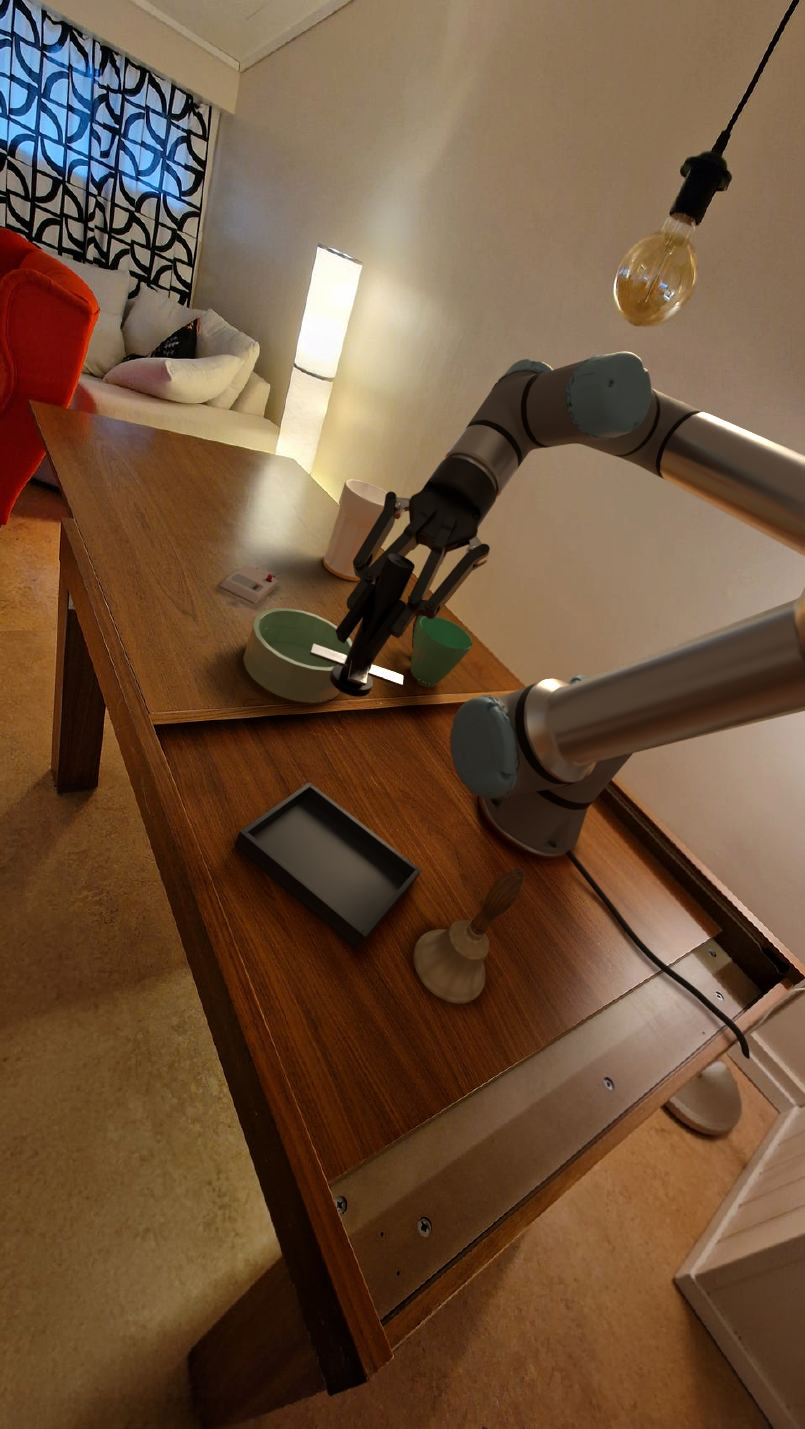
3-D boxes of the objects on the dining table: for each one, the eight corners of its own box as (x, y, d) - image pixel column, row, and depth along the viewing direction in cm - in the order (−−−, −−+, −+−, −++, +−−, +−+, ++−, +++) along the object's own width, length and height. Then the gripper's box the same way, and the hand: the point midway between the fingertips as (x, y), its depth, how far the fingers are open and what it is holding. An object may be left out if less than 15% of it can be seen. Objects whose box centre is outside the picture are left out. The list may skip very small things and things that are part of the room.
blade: (395, 676, 77) (448, 562, 69) (392, 723, 69) (452, 601, 61) (311, 646, 75) (355, 524, 67) (297, 691, 67) (345, 559, 58)
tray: (413, 883, 73) (421, 870, 72) (356, 951, 63) (365, 937, 62) (302, 795, 77) (309, 781, 76) (233, 846, 67) (239, 831, 66)
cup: (375, 587, 132) (406, 512, 122) (326, 578, 126) (355, 498, 117) (359, 561, 140) (387, 487, 130) (312, 551, 134) (338, 473, 124)
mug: (456, 698, 110) (481, 653, 104) (407, 693, 105) (431, 645, 99) (427, 650, 120) (449, 606, 114) (382, 642, 115) (403, 596, 109)
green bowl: (359, 686, 101) (374, 652, 97) (299, 720, 88) (314, 682, 85) (287, 634, 104) (298, 599, 101) (220, 659, 92) (230, 621, 88)
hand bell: (398, 964, 64) (466, 869, 55) (436, 917, 71) (502, 825, 62) (462, 1021, 62) (543, 932, 53) (495, 967, 68) (572, 880, 60)
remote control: (213, 594, 105) (217, 578, 103) (252, 566, 118) (256, 551, 116) (249, 611, 105) (253, 596, 103) (283, 581, 118) (288, 567, 117)
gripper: (525, 532, 73) (418, 695, 68) (409, 468, 75) (297, 622, 70) (538, 494, 65) (420, 674, 61) (409, 424, 68) (285, 593, 63)
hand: (354, 645), depth 65 cm, fingers closed on blade, 3 cm apart
